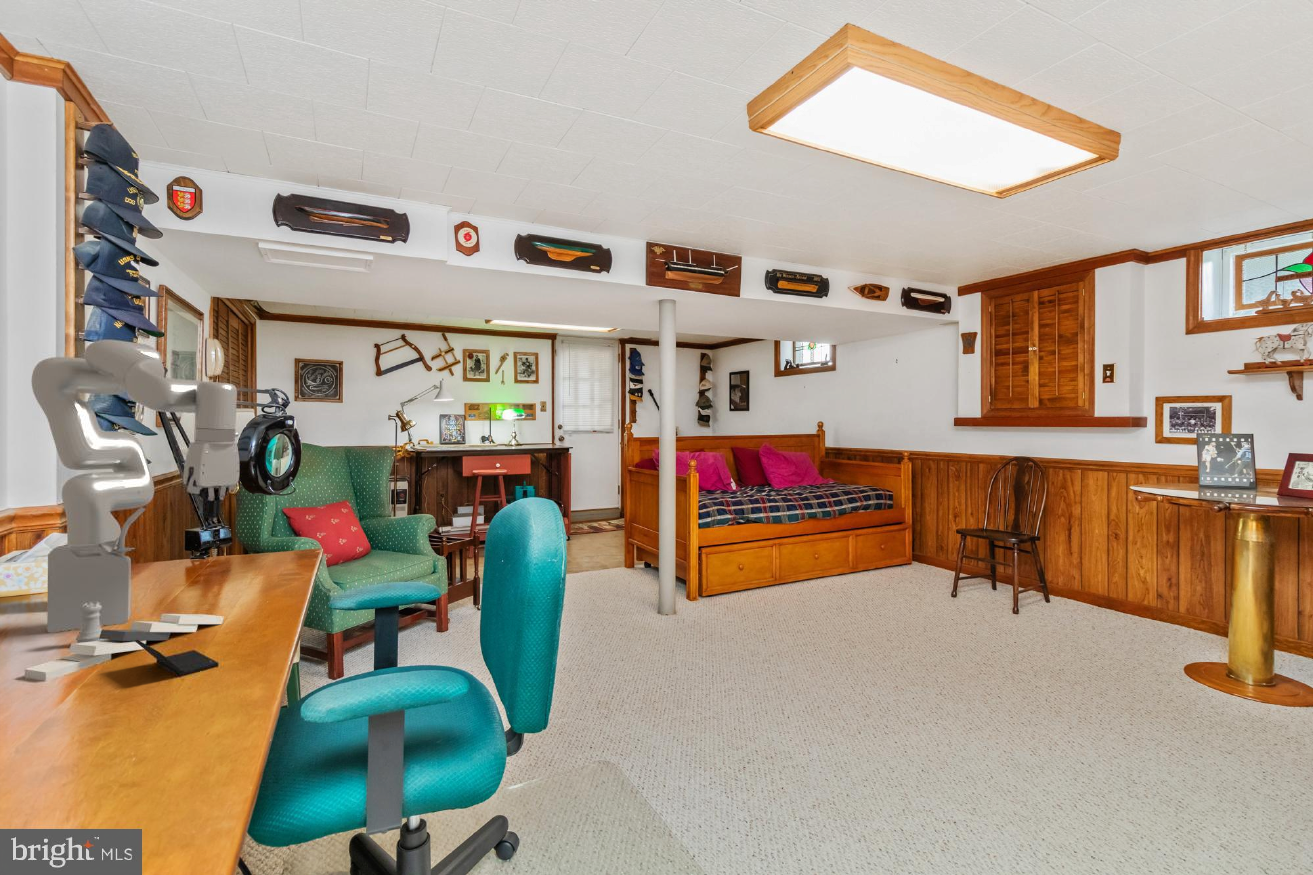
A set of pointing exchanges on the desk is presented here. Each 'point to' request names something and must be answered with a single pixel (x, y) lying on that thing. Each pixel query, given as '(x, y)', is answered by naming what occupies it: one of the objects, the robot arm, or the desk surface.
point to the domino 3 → (133, 635)
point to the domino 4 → (162, 627)
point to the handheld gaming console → (182, 661)
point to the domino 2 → (104, 647)
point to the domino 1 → (64, 666)
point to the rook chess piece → (90, 623)
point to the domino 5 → (191, 619)
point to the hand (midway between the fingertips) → (211, 516)
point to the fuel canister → (89, 582)
